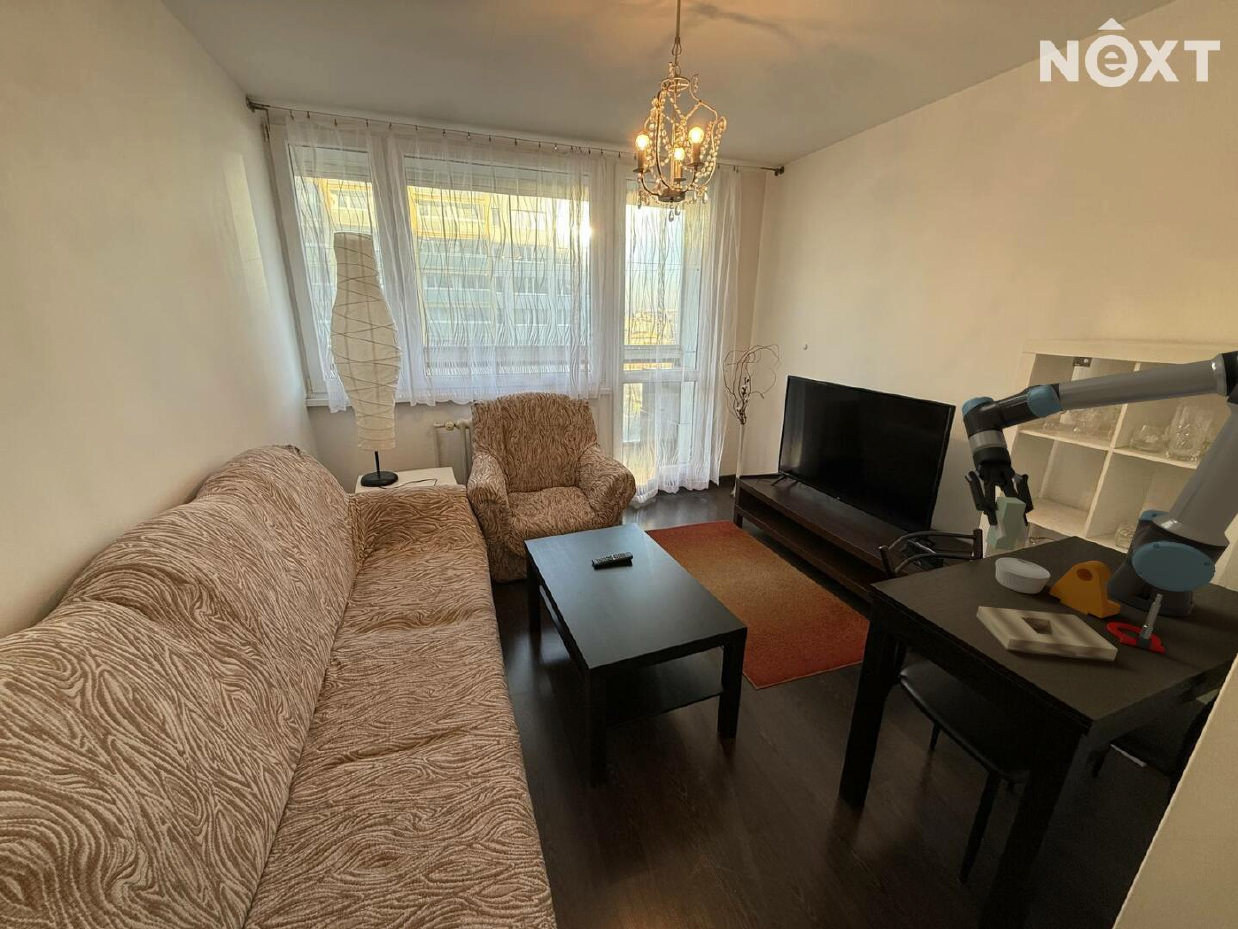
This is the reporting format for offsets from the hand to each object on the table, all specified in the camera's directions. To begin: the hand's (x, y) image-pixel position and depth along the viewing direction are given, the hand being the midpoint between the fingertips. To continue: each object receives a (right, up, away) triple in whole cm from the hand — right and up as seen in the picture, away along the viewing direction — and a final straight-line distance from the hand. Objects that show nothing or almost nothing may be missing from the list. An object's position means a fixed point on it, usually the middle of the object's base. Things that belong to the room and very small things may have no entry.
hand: (1012, 538), depth 113 cm
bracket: (+22, -18, +6) cm, 29 cm away
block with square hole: (+1, -21, -6) cm, 22 cm away
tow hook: (+22, -21, -6) cm, 31 cm away
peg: (+1, -2, +5) cm, 5 cm away
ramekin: (+14, -15, +15) cm, 25 cm away
